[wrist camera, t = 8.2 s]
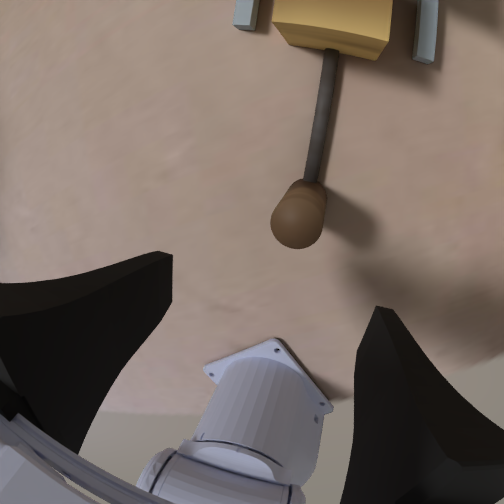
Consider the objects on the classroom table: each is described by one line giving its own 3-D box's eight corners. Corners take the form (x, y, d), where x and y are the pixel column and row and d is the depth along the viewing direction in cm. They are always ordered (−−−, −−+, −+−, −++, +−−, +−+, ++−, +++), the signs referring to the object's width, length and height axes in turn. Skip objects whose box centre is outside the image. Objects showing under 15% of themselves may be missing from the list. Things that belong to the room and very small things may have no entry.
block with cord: (299, -25, 13) (285, -63, 9) (383, -11, 12) (395, -47, 8) (263, 207, 20) (240, 236, 15) (342, 225, 19) (343, 260, 15)
